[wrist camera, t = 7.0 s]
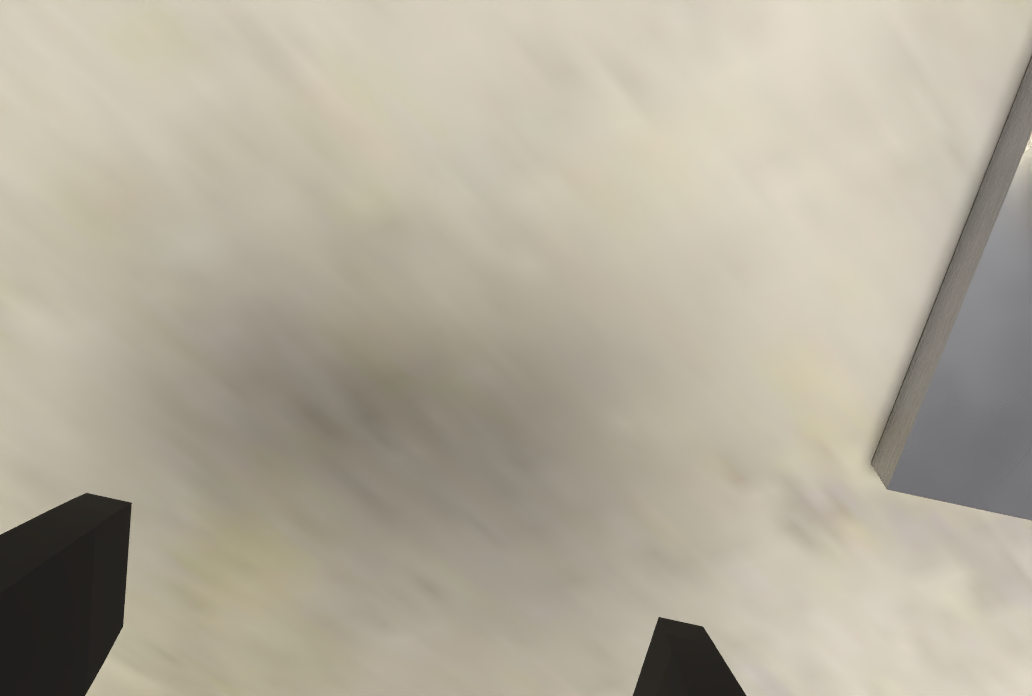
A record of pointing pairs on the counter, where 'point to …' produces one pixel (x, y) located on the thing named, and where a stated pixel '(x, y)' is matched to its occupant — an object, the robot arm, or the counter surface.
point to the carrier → (976, 353)
